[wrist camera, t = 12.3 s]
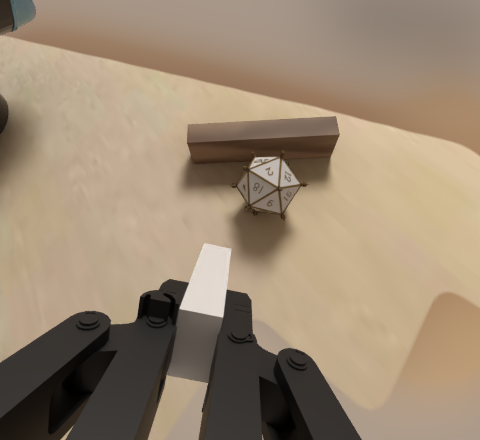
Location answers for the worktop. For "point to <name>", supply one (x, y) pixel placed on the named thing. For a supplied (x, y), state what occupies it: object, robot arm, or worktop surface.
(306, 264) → the worktop surface
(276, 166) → the game die
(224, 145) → the rail
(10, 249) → the worktop surface
